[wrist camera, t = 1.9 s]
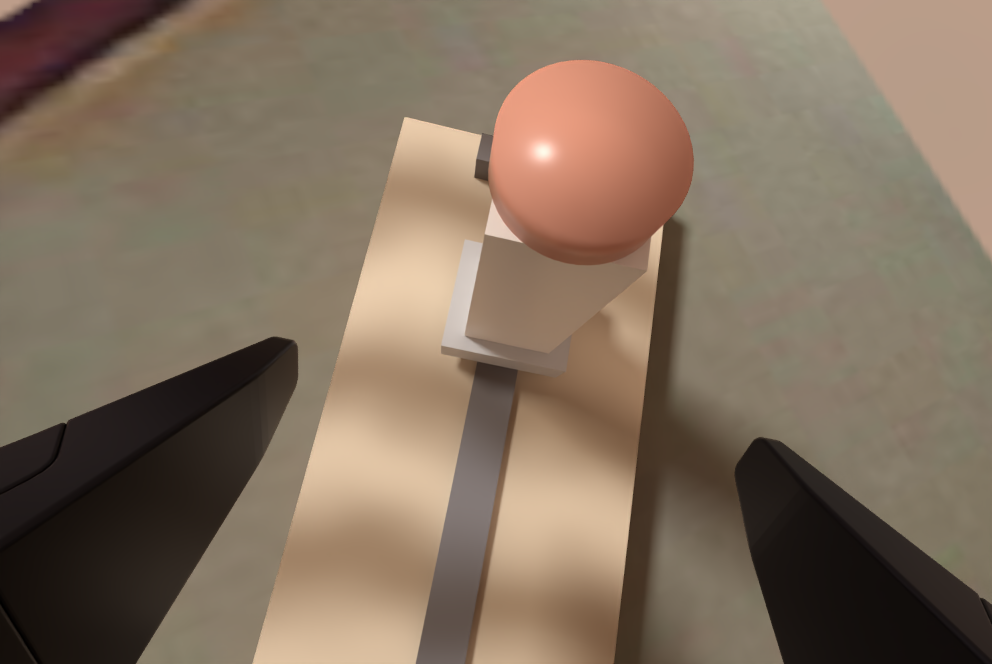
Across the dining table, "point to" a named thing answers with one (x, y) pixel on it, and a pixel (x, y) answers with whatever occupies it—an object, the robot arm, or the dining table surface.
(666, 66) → the dining table surface
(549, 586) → the slider console
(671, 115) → the slider lever
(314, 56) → the dining table surface
